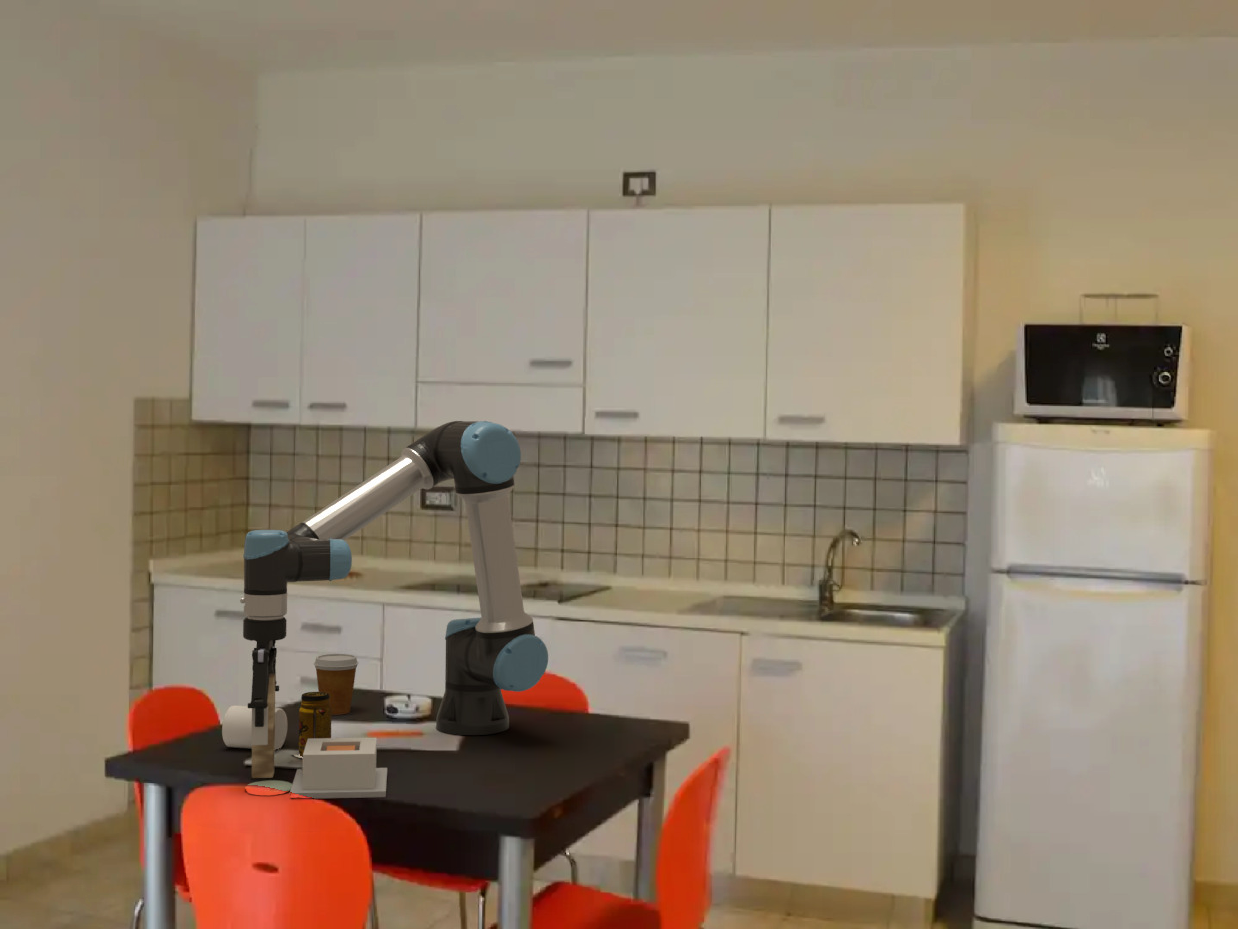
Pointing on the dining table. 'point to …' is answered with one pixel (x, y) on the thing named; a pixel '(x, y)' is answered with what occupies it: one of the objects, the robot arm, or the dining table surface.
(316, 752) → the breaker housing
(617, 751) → the dining table surface
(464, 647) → the robot arm
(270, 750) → the beige wooden block
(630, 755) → the dining table surface
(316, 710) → the condiment
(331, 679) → the disposable coffee cup
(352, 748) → the button
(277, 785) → the coaster
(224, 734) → the mug
